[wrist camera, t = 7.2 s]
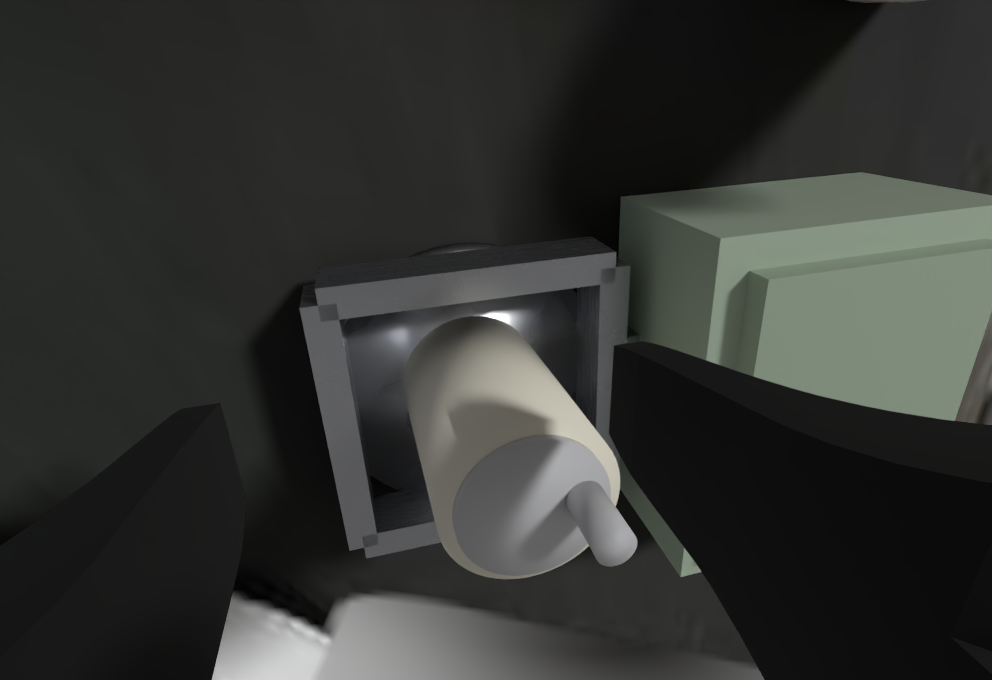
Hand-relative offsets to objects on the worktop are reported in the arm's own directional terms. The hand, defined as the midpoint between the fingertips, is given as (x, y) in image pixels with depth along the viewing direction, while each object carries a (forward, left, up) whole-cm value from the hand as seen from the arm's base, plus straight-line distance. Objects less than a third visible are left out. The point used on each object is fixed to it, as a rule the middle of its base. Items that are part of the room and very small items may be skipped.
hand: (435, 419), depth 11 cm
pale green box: (+13, -4, -10) cm, 17 cm away
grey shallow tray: (+2, -4, -10) cm, 11 cm away
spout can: (+2, -4, -9) cm, 10 cm away
